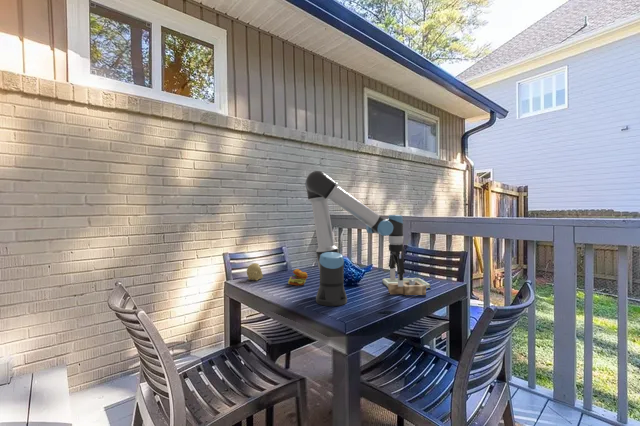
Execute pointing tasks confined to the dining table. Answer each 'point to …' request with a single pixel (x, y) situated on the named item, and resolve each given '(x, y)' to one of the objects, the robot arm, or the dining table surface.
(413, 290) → the collar
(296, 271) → the cheeseburger
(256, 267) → the pale yellow lumpy ball
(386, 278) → the tray
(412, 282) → the post
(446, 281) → the dining table surface
